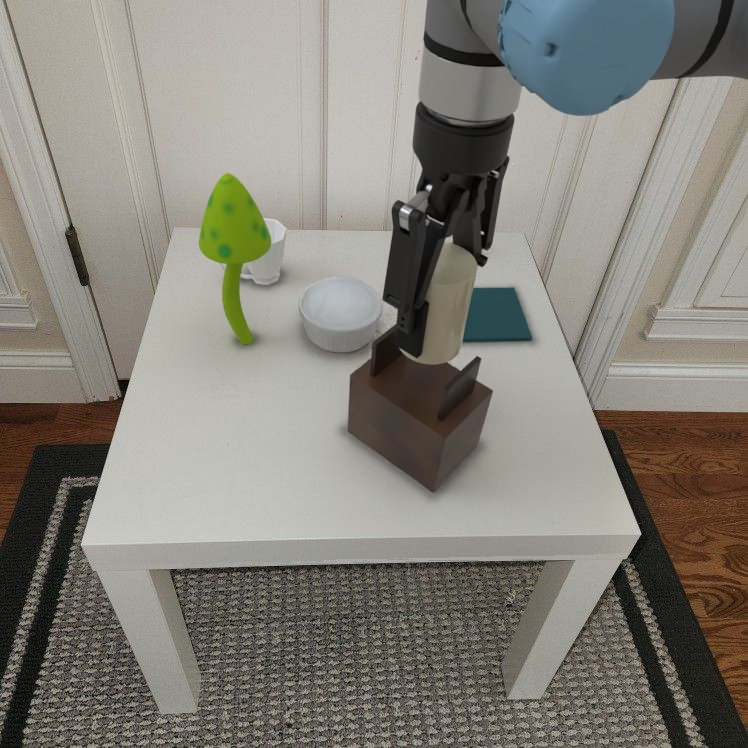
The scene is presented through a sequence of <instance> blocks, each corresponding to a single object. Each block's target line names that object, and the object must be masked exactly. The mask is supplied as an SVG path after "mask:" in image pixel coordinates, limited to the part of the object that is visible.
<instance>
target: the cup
mask: <svg viewBox="0 0 748 748" xmlns="http://www.w3.org/2000/svg"><path fill="white" fill-rule="evenodd" d="M263 219H264V221H265V223H266V226H267V228H268V230H269V233H270V236H271V246H270V249H269V250H268V251H267V253H266V254H264V255H263V256H262V257H260V258H258V259H256V260H254V261H251V262H248V263H245V264H246V267H247V269H248V272H250V274H247V273H246V274H245V273H242V272H241V277H240V279H244V280H253V282H254V283H256V285H265V286H269V285H272V284H275V283H277V282H279V279H280V277H281V272H280V270H281V269H282V264H283V258H284V255H285V248H286V247H285V246H286V239H287V230H288V228H287V227H286V226H284V224H283V223H281V222H280V221H279V220H278V219H277V218H276V219H275V218H269V217H268V218H267V217H263ZM219 265H220V267H221V269H222V270H224V271H225V269H226V264H224V263H219Z"/></svg>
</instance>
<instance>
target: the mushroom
mask: <svg viewBox="0 0 748 748" xmlns="http://www.w3.org/2000/svg"><path fill="white" fill-rule="evenodd" d="M263 218H264V217H263V215H262V213H261V211H260V209H259V206H258V205H257V203H256V202H255V200H254V198H253V196H252V195H251V194H250V192H249V190H248V189H247V188H246V186H245V185H244V184H243V183H242V182H241V181H240V180H239V179H238V178H237V177H236V176H235V175H234V174H232V173H230V172H226V173H224V174H223V175H222V176H221V177H219V179H218V181H217V182H216V183H215V185H214V186H213V189H212V191H211V194H210V195H209V198H208V201H207V204H206V206H205V211H204V213H203V218H202V222H201V226H200V231H199V236H198V237H199V238H198V246H199V250H200V252H201V253H202V255H204V257H206V258H207V259H209V260H211V261H213V262H215V263H218V264H220V263H223V265H225V266H226V269H225V270H224V275H223V280H222V289H221V301H222V306H223V311H224V314H225V317H226V319H227V322H228V323H229V325H230V327H231V329H232V331H233V333H234V334H235V336H236V338H237V339H238V341H239V342H240V343H241V344H242V345H250V344H252V343H253V342H254V336H253V334H252V331H251V330H250V327H249V325H248V322H247V320H246V317H245V314H244V311H243V306H242V303H241V292H240V290H241V289H240V287H241V278H240V277H241V273H242V271H243V265H244V264H246V263H248V262H251V261H254V260H256V259H258V258H260V257H262V256H263V255H264V254H266V253H267V251H268V250H269V249H270V246H271V236H270V233H269V230H268V228H267V226H266V223H265V221H264V219H263Z"/></svg>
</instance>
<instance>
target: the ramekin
mask: <svg viewBox="0 0 748 748" xmlns="http://www.w3.org/2000/svg"><path fill="white" fill-rule="evenodd" d="M297 306H298V312H299V315H300V318H301V319H302V323H303V327H304V330H305V333H306V336H307V337H308V338H309V340H310V341H311V342H312V343H313V344H314V345H316V347H318V348H320V349H322V350H324V351H326V352H327V351H328V352H331V353H341V354H343V353H350V352H354V351H357V350H359V349H361V348H364V346H367V344H369V343H370V341H372V339H373V337H374V336H375V333H376V330H377V327H378V324H379V321H380V320H381V318H382V315H383V311H384V301H383V300H382V296H381V295H380V293H379V292H378V290H376V289H375V288H374V287H373V286H371V285H370V284H369V283H366V282H365V281H362V280H360V279H356V278H354V277H353V278H352V277H346V276H331V277H326V278H322V279H320V280H316V281H315V282H313V283H311V284H310V285H308V286H307V287H306V288H304V289H303V291H302V292H301V293H300V296H299V298H298V305H297Z"/></svg>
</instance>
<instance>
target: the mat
mask: <svg viewBox="0 0 748 748" xmlns="http://www.w3.org/2000/svg"><path fill="white" fill-rule="evenodd" d="M532 340H533V336H532V333H531V331H530V328H529V325H528V322H527V320H526V316H525V314H524V311H523V308H522V306H521V303H520V300H519V297H518V294H517V291H516V289H515V287H514V286H513V287H511V286H510V287H474V288H473V292H472V297H471V302H470V307H469V312H468V316H467V321H466V326H465V331H464V336H463V340H462V343H479V342H481V343H483V342H525V341H528V342H530V341H532Z"/></svg>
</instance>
